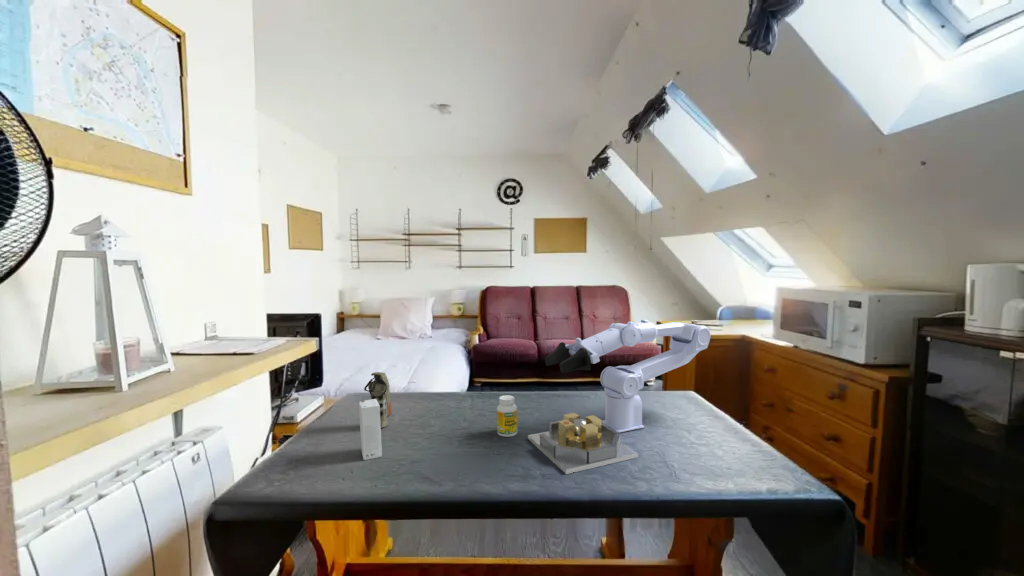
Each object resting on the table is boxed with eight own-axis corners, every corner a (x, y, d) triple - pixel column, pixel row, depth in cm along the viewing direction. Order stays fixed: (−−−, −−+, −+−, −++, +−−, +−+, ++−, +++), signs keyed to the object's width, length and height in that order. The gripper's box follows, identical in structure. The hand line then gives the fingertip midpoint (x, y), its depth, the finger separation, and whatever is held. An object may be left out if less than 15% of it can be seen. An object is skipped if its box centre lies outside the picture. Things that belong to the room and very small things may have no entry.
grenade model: (360, 431, 106) (359, 376, 105) (378, 421, 112) (377, 370, 112) (380, 434, 104) (378, 378, 103) (397, 425, 110) (396, 372, 109)
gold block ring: (585, 431, 102) (586, 410, 102) (609, 447, 93) (609, 423, 93) (551, 437, 98) (551, 415, 98) (573, 455, 89) (573, 430, 89)
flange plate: (590, 427, 108) (590, 403, 108) (637, 457, 90) (638, 429, 90) (527, 438, 101) (527, 413, 100) (566, 474, 83) (566, 443, 83)
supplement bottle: (510, 427, 108) (509, 393, 108) (521, 434, 104) (521, 398, 103) (493, 432, 105) (493, 396, 105) (504, 439, 101) (503, 402, 100)
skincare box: (382, 457, 91) (381, 405, 91) (362, 461, 89) (360, 408, 89) (379, 446, 97) (378, 397, 96) (359, 450, 95) (358, 400, 94)
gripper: (577, 328, 111) (536, 345, 106) (609, 335, 97) (563, 355, 92) (583, 351, 112) (542, 370, 107) (616, 362, 98) (571, 383, 93)
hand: (553, 365), depth 100 cm, fingers open, 7 cm apart
